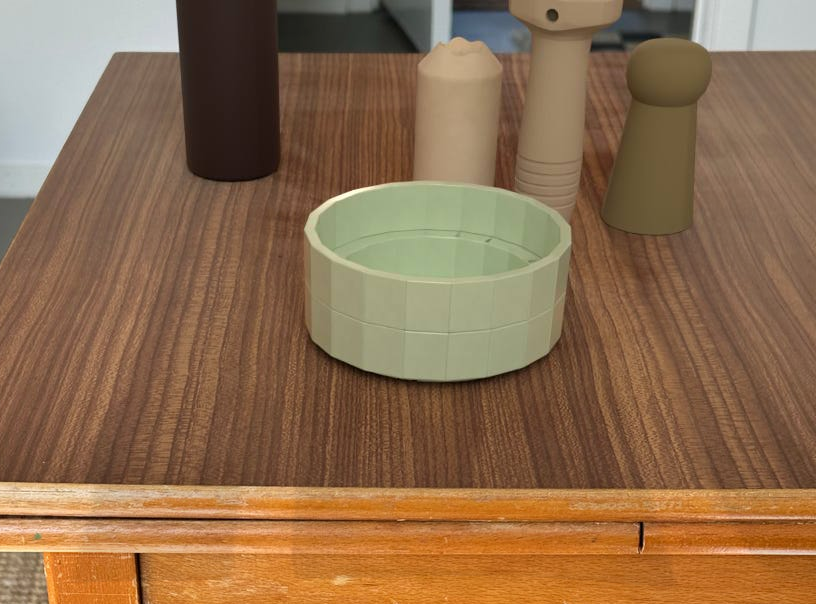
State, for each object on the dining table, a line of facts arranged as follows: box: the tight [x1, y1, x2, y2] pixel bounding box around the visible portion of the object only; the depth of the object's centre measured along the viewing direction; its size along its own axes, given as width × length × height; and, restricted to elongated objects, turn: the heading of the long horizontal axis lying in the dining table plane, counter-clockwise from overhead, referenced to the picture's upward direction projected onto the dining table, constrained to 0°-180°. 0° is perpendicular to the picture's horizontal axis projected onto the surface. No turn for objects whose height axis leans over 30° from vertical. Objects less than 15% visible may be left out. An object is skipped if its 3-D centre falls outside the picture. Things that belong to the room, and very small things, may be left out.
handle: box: [508, 0, 624, 225], centre depth 79 cm, size 5×6×15 cm
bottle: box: [175, 0, 282, 182], centre depth 89 cm, size 7×7×20 cm
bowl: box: [303, 180, 573, 383], centre depth 73 cm, size 14×14×6 cm
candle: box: [412, 36, 504, 187], centre depth 88 cm, size 6×6×10 cm
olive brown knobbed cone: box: [600, 37, 713, 236], centre depth 85 cm, size 6×6×11 cm
